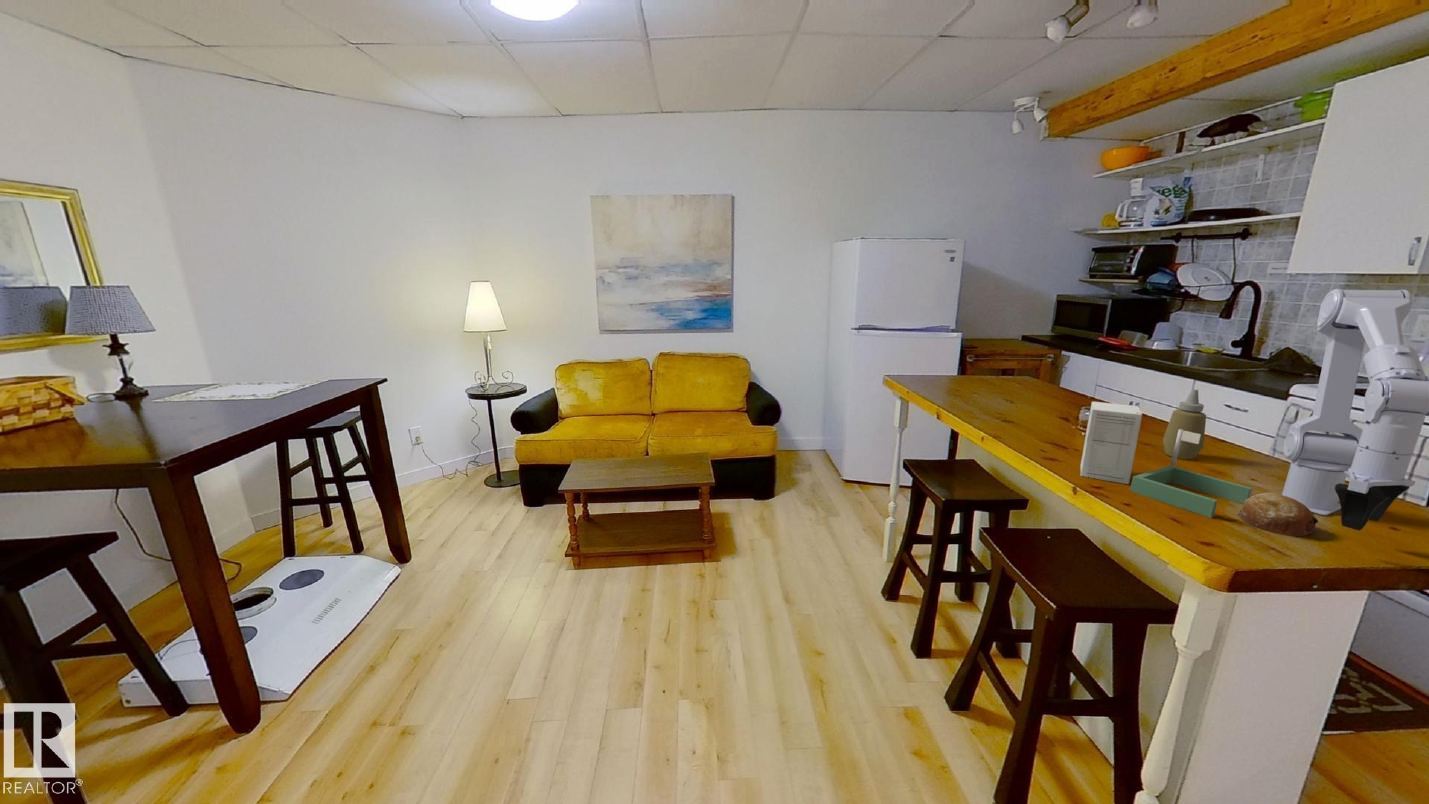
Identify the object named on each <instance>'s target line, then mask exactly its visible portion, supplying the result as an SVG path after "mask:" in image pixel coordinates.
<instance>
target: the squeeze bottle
mask: <svg viewBox="0 0 1429 804" xmlns="http://www.w3.org/2000/svg"><path fill="white" fill-rule="evenodd" d="M1204 406H1205V405H1204V404H1202V403H1200V401H1199V389H1195V388H1194V389H1191V391H1190V393H1189V394H1188V396H1187V398H1186V400H1185V401H1180V402H1179V405H1178V409H1175V410H1173V411H1172V414H1171V417H1170V419H1169V422H1168V425H1167V428H1166V430H1165V432H1164V436H1163V438H1162V443H1163V448H1164V454H1165V453H1166V454H1165V455H1167V456H1169V457H1171V458H1172V457H1173V452H1174V448H1175V443H1176V439H1177V435H1178V430H1179V429H1182V430H1183V431H1188V432H1192V433H1197V434H1201V437H1200V441H1199V444H1196V443H1191V442H1187V441H1183V440H1181V443H1180V447H1179V451H1178V456H1177V459H1180V458H1181V460H1194V459H1196V457H1198V454H1200V453H1201V451H1202V449H1203V448H1204V441H1205V434H1206V423H1207V414H1205V412H1203V411H1204Z"/></svg>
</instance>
